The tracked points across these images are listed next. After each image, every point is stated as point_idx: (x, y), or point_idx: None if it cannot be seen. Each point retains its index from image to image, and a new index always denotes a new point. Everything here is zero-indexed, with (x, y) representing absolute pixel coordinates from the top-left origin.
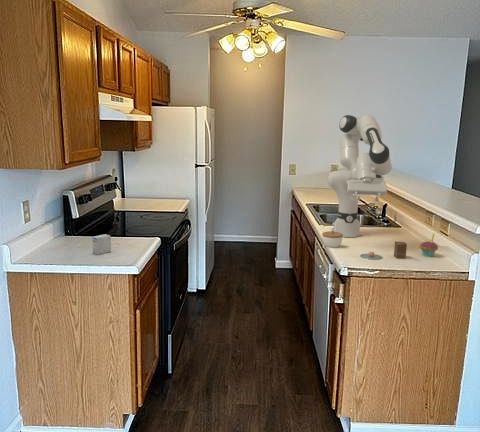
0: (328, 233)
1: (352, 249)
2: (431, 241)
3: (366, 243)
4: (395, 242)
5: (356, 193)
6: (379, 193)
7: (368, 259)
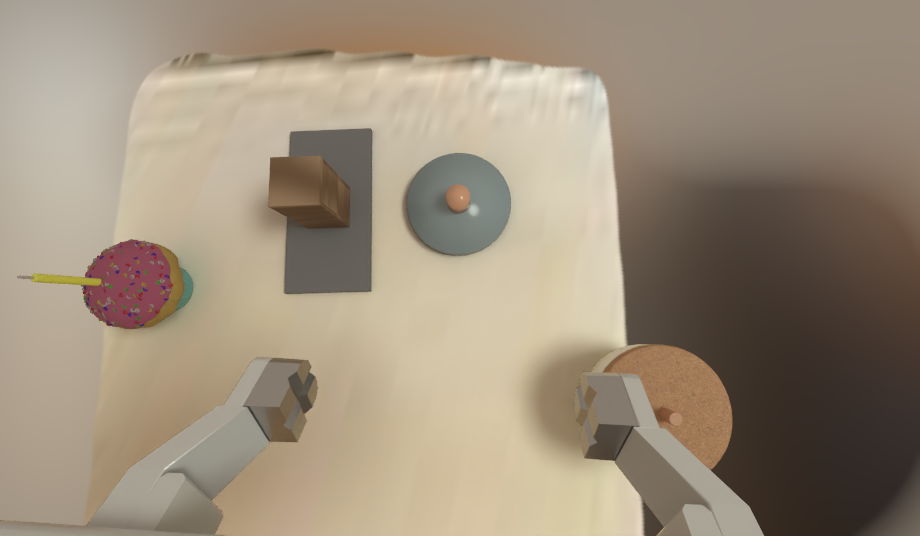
0: (694, 406)
1: (517, 363)
2: (93, 278)
3: (413, 508)
4: (320, 196)
5: (702, 491)
6: (140, 486)
7: (481, 158)
